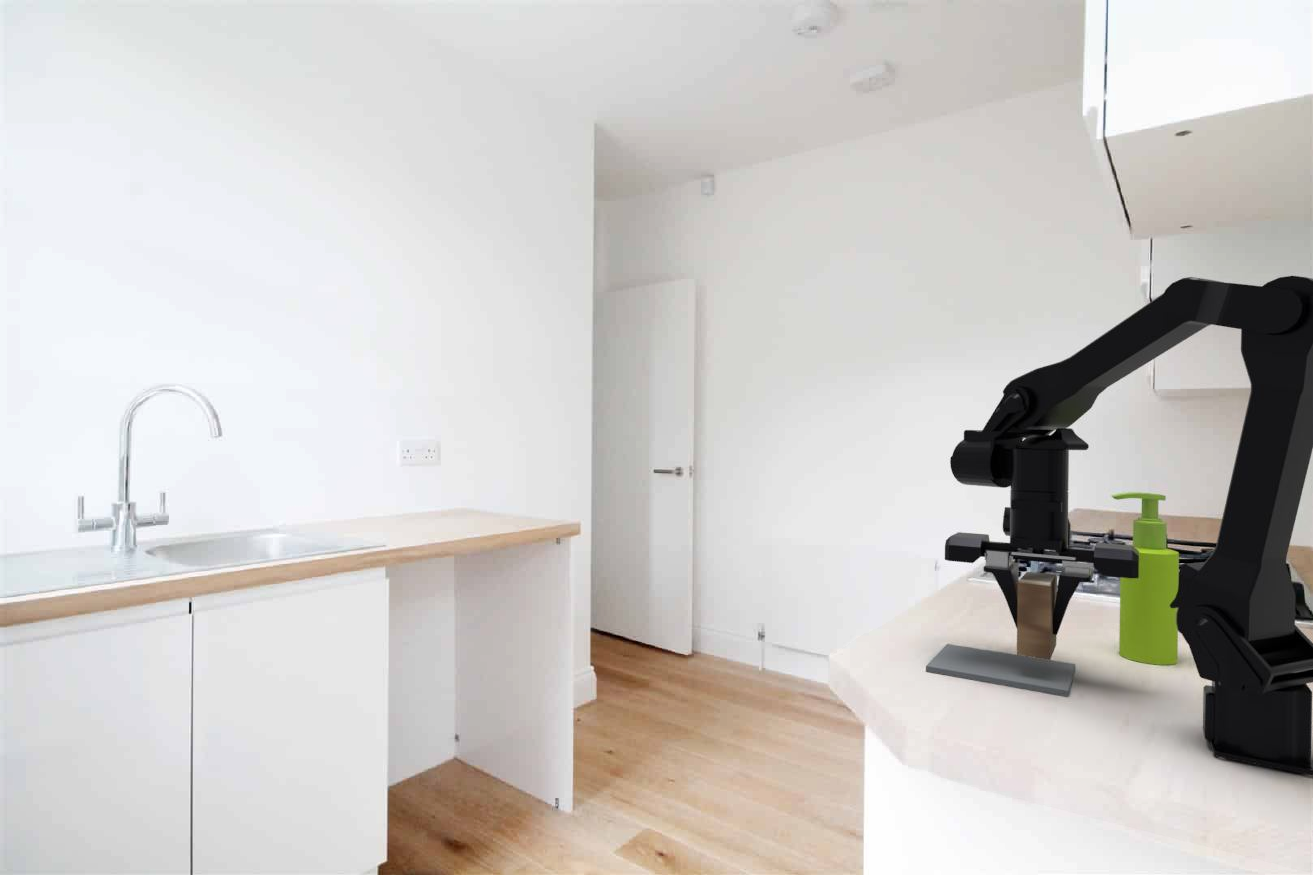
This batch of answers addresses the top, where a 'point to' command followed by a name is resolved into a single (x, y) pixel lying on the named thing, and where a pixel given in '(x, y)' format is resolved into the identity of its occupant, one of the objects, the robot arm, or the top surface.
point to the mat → (1004, 669)
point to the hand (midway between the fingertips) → (1037, 631)
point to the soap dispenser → (1150, 590)
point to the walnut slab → (1036, 615)
